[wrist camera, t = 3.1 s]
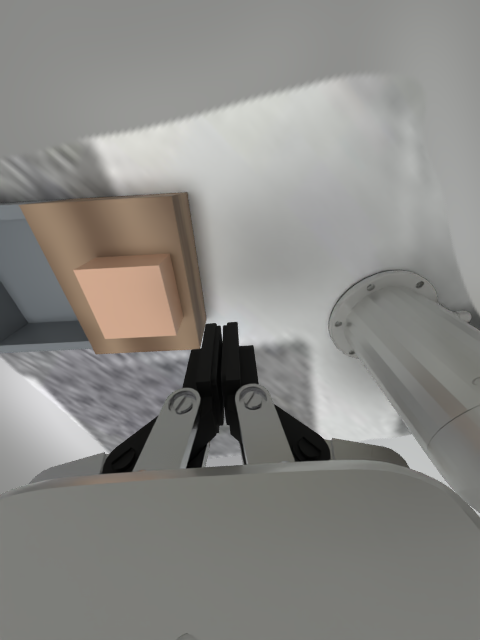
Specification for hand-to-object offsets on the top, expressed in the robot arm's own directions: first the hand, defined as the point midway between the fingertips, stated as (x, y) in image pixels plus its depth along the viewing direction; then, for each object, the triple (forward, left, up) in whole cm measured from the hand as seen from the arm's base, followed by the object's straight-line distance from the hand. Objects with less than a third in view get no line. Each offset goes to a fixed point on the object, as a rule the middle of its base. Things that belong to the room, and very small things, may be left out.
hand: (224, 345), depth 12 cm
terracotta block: (+8, 0, -9) cm, 12 cm away
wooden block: (+9, 0, -15) cm, 17 cm away
